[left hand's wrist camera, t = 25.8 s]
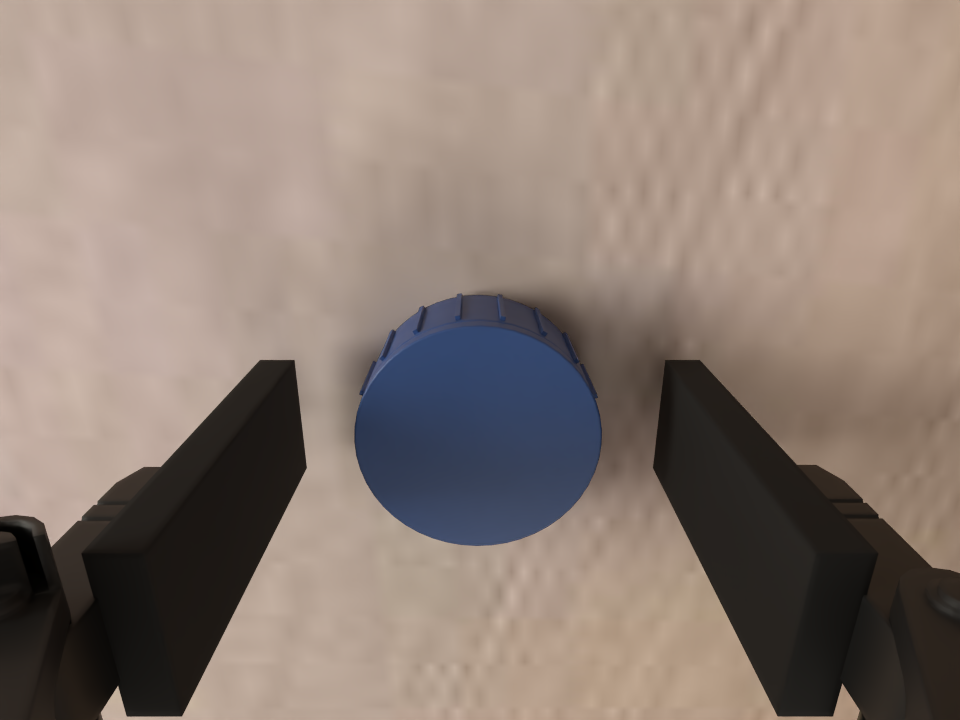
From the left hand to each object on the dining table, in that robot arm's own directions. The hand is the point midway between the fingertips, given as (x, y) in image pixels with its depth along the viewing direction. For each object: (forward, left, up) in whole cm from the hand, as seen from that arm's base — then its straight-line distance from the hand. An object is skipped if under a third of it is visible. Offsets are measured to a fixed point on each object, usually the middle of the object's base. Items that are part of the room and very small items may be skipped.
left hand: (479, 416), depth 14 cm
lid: (0, 0, +1) cm, 1 cm away
